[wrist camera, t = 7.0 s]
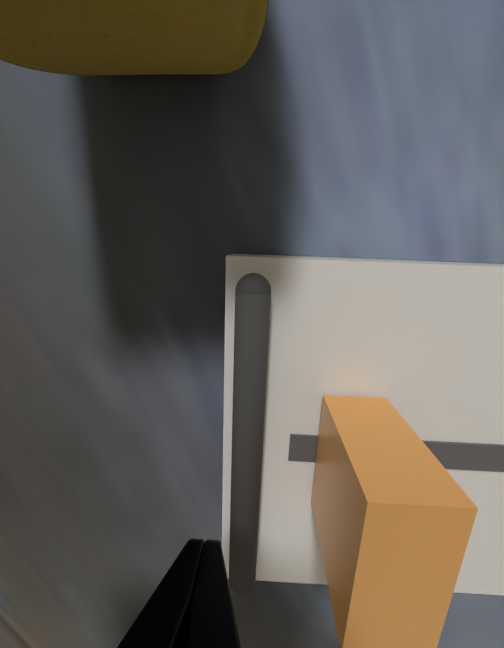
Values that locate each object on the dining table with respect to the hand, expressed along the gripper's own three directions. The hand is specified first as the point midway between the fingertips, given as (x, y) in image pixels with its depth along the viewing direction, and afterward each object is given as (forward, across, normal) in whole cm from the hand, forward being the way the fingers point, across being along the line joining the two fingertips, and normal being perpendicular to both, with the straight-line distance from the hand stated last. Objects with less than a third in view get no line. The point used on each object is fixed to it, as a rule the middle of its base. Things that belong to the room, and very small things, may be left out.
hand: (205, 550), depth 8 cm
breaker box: (+7, -8, 0) cm, 11 cm away
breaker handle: (+4, -5, 0) cm, 6 cm away
